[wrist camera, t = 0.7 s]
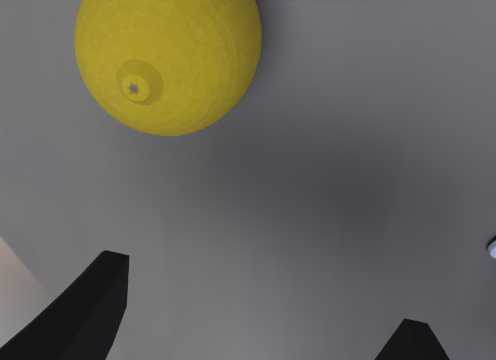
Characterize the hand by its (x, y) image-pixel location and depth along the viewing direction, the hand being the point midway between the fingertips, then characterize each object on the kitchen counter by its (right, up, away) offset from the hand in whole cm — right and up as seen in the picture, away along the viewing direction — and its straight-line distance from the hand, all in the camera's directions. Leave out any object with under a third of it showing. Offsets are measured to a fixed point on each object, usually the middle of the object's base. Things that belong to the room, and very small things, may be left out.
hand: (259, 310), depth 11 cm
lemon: (-2, +10, +6) cm, 12 cm away
